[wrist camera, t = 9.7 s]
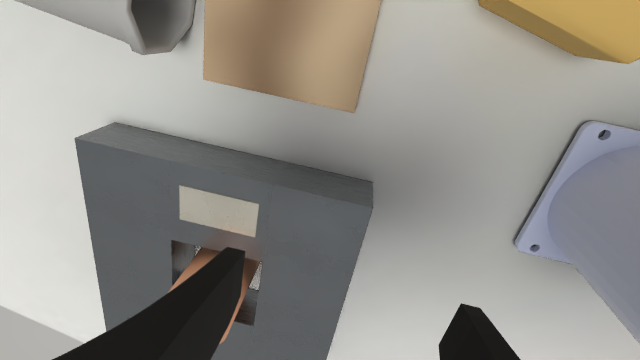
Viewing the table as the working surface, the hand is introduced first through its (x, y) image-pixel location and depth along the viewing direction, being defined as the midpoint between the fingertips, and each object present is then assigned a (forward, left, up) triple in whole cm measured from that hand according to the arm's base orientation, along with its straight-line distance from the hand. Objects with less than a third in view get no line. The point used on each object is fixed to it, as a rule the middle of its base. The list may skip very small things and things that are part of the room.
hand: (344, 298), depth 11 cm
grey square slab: (+7, +8, -9) cm, 14 cm away
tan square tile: (+5, -8, -9) cm, 13 cm away
